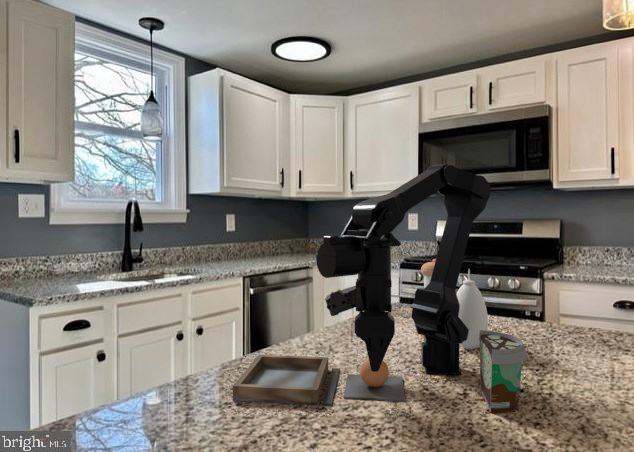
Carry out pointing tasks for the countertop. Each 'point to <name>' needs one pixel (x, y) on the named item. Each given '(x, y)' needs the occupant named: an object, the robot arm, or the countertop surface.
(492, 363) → the food container
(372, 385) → the ball
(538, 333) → the countertop surface
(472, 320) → the sauce bottle
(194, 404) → the countertop surface
